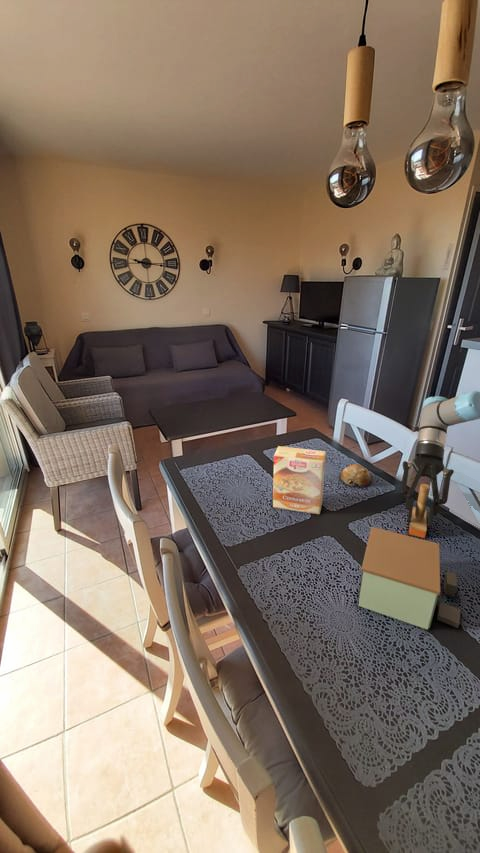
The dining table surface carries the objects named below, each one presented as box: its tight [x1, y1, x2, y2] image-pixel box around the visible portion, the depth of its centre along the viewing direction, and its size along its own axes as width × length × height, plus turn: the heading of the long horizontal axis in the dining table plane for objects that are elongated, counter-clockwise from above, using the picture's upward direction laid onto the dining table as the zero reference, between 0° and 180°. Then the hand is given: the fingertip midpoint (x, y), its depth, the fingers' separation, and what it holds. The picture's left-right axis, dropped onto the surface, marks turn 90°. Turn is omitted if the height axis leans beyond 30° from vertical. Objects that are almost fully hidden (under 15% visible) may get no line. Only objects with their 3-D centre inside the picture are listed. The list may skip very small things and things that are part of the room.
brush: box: [408, 483, 431, 539], centre depth 103 cm, size 10×4×14 cm, turn 155°
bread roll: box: [340, 463, 371, 488], centre depth 128 cm, size 10×10×8 cm
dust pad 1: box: [443, 571, 458, 598], centre depth 84 cm, size 4×4×2 cm
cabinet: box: [358, 526, 441, 630], centre depth 81 cm, size 16×15×12 cm
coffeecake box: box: [272, 445, 327, 515], centre depth 113 cm, size 15×7×20 cm, turn 73°
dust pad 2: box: [436, 601, 461, 629], centre depth 78 cm, size 4×4×2 cm
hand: (419, 523), depth 101 cm, fingers open, 4 cm apart
